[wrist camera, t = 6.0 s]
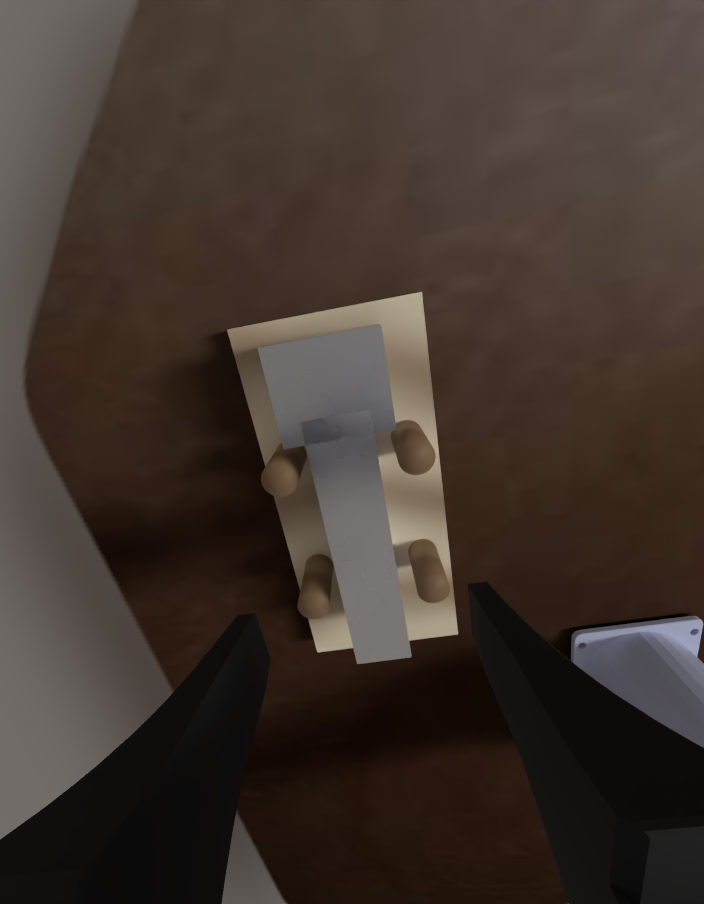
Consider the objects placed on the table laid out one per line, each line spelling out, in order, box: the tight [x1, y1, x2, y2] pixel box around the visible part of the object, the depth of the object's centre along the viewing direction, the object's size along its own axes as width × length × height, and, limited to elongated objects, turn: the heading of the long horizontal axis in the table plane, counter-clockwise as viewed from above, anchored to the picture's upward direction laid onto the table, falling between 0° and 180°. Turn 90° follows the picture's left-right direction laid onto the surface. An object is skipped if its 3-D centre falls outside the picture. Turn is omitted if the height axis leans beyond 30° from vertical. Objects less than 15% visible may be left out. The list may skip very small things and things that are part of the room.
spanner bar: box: [258, 324, 412, 664], centre depth 18 cm, size 16×5×4 cm, turn 10°
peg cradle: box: [227, 292, 458, 652], centre depth 19 cm, size 20×9×4 cm, turn 10°
